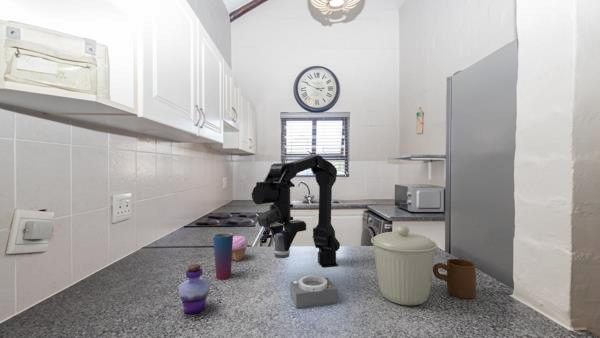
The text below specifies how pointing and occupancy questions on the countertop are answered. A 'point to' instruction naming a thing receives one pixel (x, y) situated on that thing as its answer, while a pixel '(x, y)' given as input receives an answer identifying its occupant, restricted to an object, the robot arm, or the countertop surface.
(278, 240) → the lens
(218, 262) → the cup
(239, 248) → the cupcake
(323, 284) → the camera body
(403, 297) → the canister
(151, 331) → the countertop surface
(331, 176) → the robot arm
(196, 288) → the potion bottle
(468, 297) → the mug
